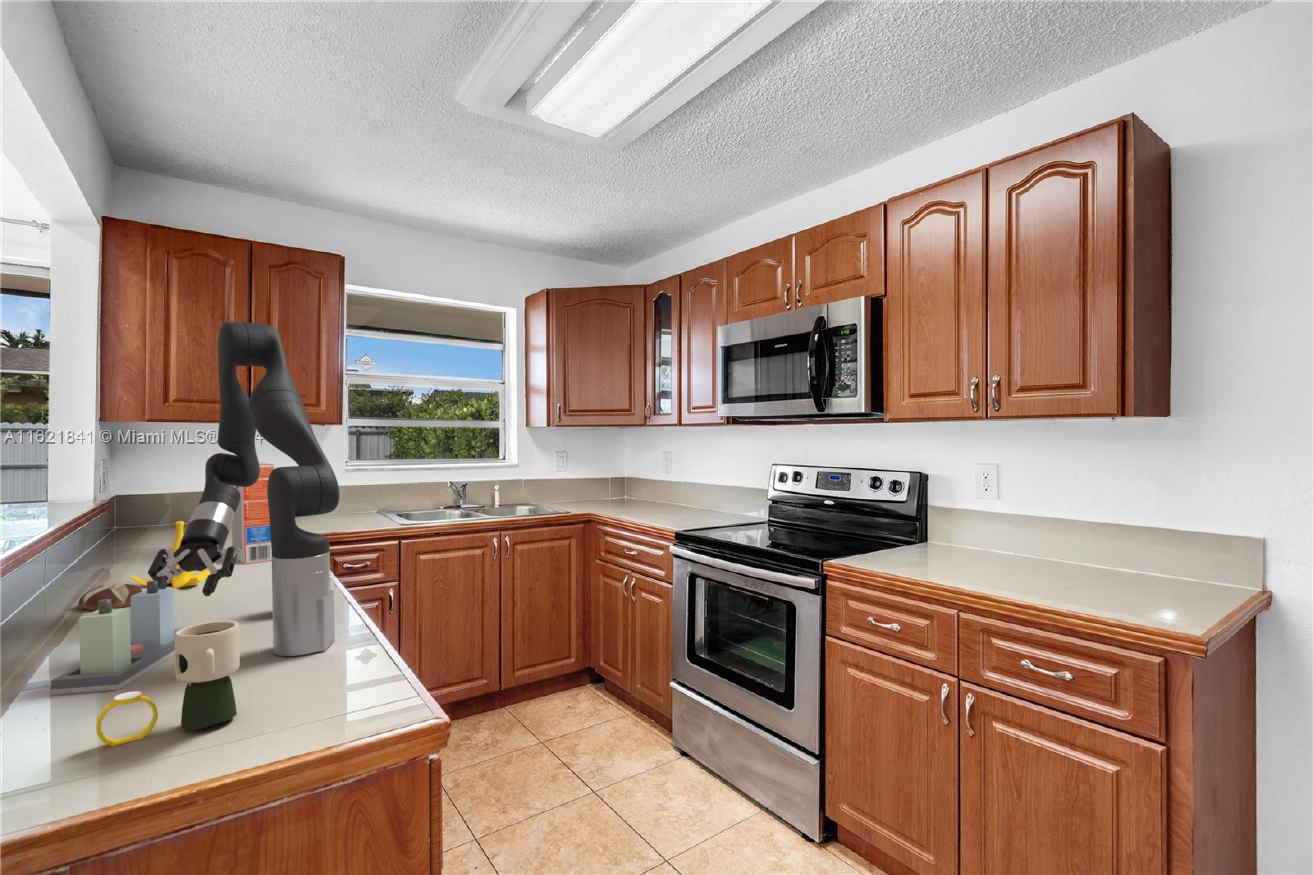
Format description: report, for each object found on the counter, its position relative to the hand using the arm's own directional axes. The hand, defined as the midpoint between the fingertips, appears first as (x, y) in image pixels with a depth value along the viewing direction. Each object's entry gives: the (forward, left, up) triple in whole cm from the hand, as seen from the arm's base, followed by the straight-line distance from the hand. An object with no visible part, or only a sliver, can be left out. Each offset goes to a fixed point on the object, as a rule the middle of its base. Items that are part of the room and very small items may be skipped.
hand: (181, 595), depth 124 cm
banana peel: (+26, -48, -8) cm, 55 cm away
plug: (0, +10, -7) cm, 12 cm away
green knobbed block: (0, +23, -7) cm, 24 cm away
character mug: (-24, +44, -8) cm, 51 cm away
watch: (-16, +47, -8) cm, 50 cm away
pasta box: (+20, -84, -8) cm, 87 cm away
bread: (+28, -29, -8) cm, 41 cm away
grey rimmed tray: (0, +17, -8) cm, 18 cm away
